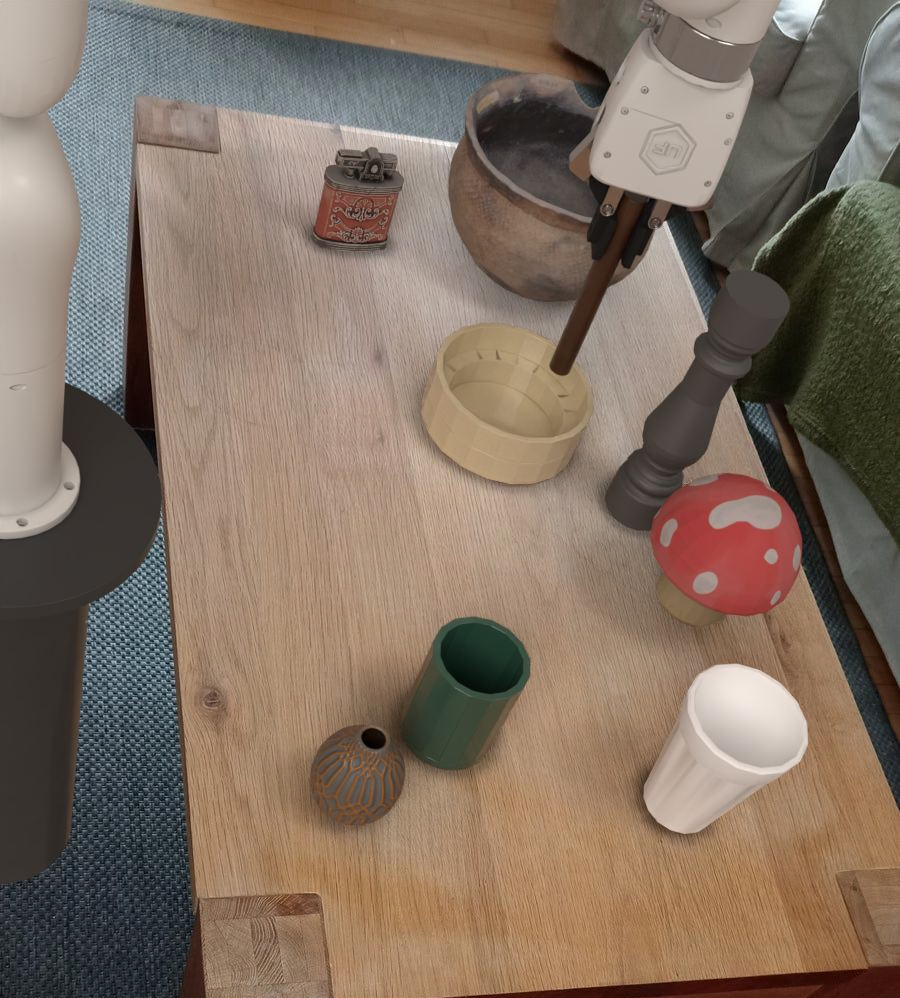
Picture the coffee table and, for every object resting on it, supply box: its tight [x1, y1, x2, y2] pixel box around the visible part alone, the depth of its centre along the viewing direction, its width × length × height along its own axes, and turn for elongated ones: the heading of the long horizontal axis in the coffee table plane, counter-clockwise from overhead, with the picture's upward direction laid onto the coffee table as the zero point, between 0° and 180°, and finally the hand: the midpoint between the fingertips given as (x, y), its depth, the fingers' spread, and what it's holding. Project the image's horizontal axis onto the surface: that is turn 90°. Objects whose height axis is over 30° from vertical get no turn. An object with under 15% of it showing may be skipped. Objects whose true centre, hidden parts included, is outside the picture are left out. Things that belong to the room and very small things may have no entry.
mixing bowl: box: [420, 322, 595, 485], centre depth 123 cm, size 15×15×6 cm
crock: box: [399, 615, 532, 771], centre depth 101 cm, size 8×8×10 cm
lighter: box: [310, 146, 405, 253], centre depth 129 cm, size 8×3×10 cm, turn 108°
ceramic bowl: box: [447, 72, 656, 303], centre depth 133 cm, size 22×22×15 cm
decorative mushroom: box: [649, 472, 803, 627], centre depth 114 cm, size 13×13×15 cm
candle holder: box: [604, 268, 791, 532], centre depth 115 cm, size 6×6×25 cm
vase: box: [309, 723, 406, 827], centre depth 96 cm, size 7×7×9 cm
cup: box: [642, 663, 809, 835], centre depth 103 cm, size 10×10×13 cm
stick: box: [549, 190, 647, 376], centre depth 112 cm, size 2×2×18 cm
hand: (610, 252), depth 109 cm, fingers closed on stick, 2 cm apart
